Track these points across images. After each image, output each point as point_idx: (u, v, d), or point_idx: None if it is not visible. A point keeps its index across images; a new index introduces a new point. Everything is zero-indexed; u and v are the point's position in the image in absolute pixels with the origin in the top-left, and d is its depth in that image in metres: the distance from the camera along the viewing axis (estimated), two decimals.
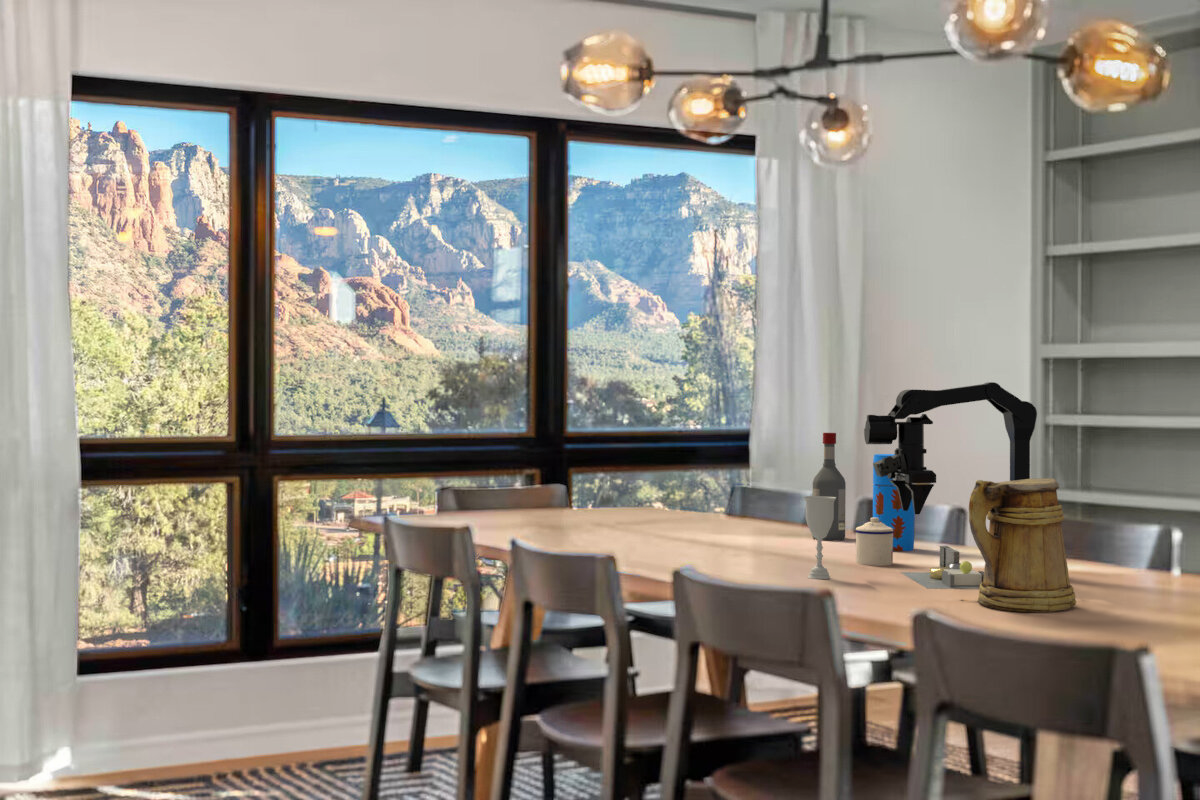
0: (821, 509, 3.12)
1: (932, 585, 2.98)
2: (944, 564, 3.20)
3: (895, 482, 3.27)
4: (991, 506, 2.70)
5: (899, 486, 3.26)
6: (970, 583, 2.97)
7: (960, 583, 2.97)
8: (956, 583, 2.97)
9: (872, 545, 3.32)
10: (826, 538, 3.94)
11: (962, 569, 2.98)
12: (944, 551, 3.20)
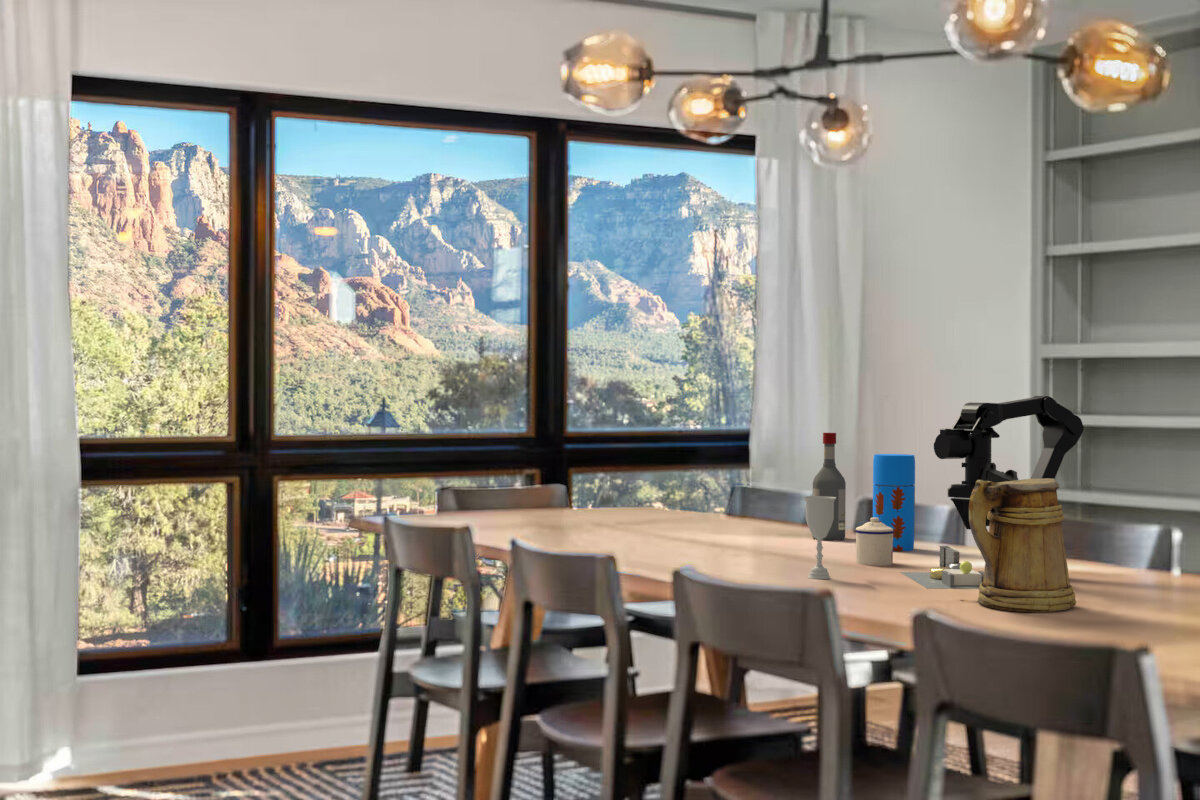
0: (821, 509, 3.12)
1: (932, 585, 2.98)
2: (944, 564, 3.20)
3: None
4: (991, 506, 2.70)
5: None
6: (970, 583, 2.97)
7: (960, 583, 2.97)
8: (956, 583, 2.97)
9: (872, 545, 3.32)
10: (826, 538, 3.94)
11: (962, 569, 2.98)
12: (944, 551, 3.20)
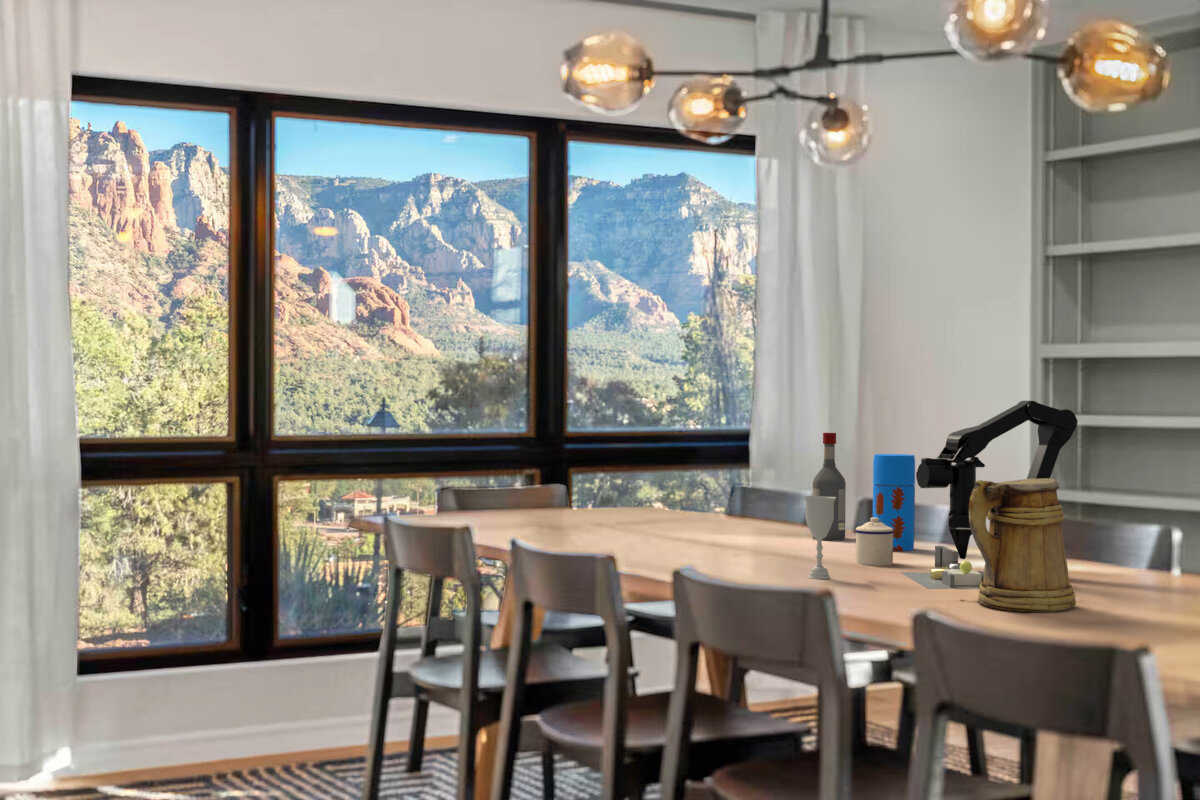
0: (821, 508, 3.12)
1: (932, 585, 2.98)
2: (940, 564, 3.20)
3: None
4: (991, 506, 2.70)
5: None
6: (970, 583, 2.97)
7: (960, 583, 2.97)
8: (956, 583, 2.97)
9: (872, 545, 3.32)
10: (826, 538, 3.94)
11: (962, 569, 2.98)
12: (940, 551, 3.20)
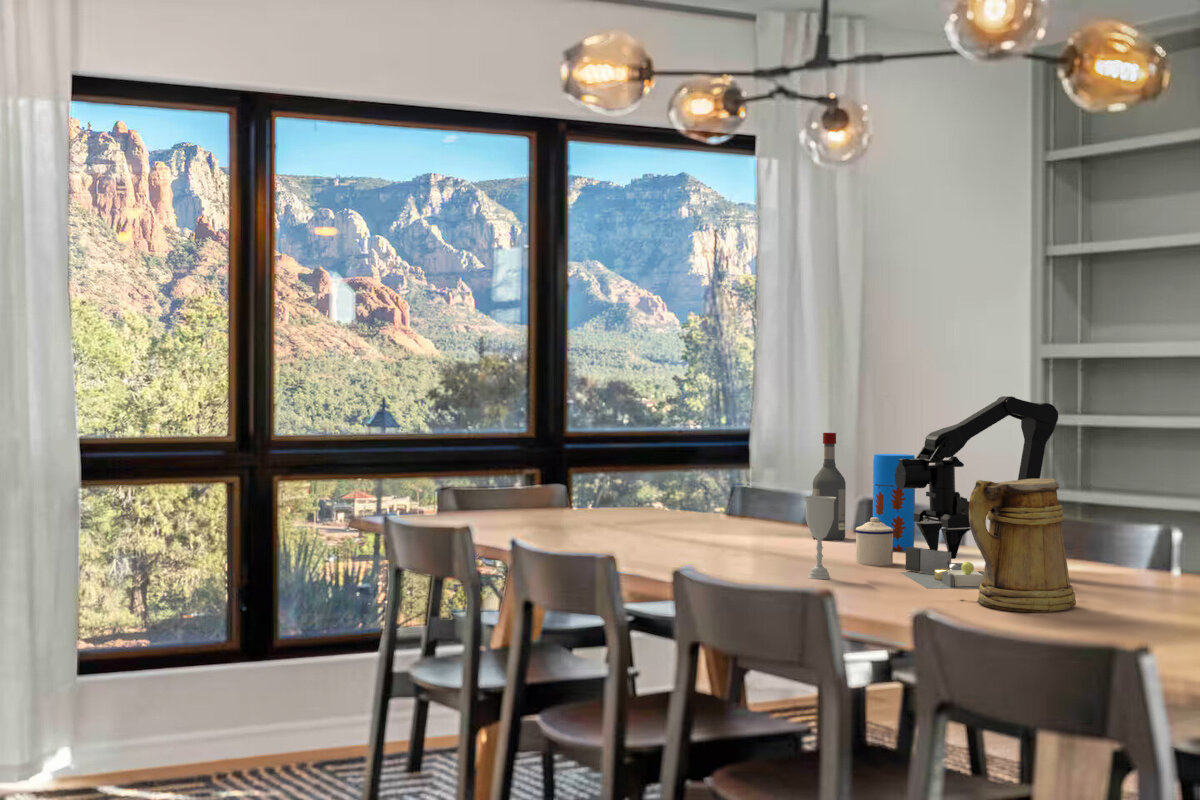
0: (821, 508, 3.12)
1: (932, 585, 2.98)
2: (919, 565, 3.18)
3: None
4: (991, 506, 2.70)
5: None
6: (972, 584, 2.96)
7: (962, 584, 2.96)
8: (958, 584, 2.96)
9: (872, 545, 3.32)
10: (826, 538, 3.94)
11: (964, 570, 2.97)
12: (919, 552, 3.18)
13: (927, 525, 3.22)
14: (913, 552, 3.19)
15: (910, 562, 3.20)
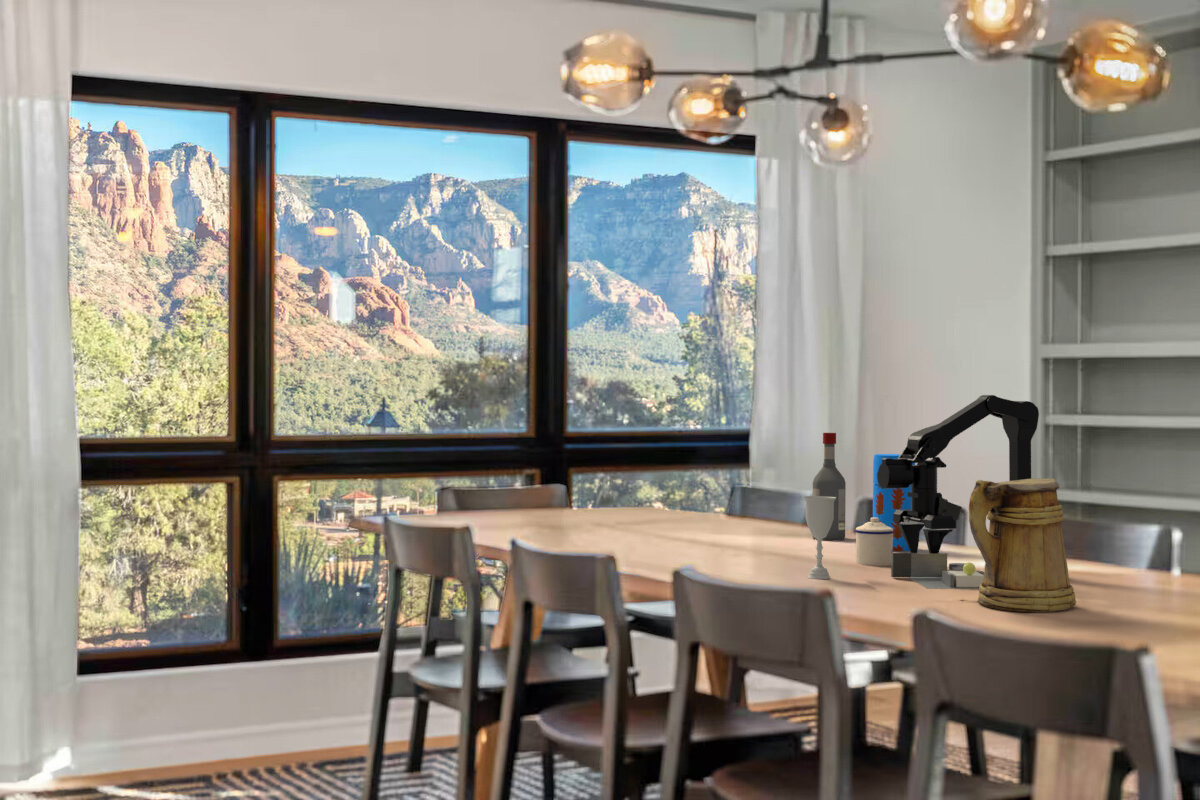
0: (821, 508, 3.12)
1: (932, 585, 2.98)
2: (911, 570, 3.08)
3: None
4: (991, 506, 2.70)
5: None
6: (973, 585, 2.95)
7: (963, 585, 2.95)
8: (959, 585, 2.95)
9: (872, 545, 3.32)
10: (826, 538, 3.94)
11: (965, 571, 2.95)
12: (911, 557, 3.08)
13: (907, 525, 3.19)
14: (903, 558, 3.08)
15: (899, 568, 3.08)
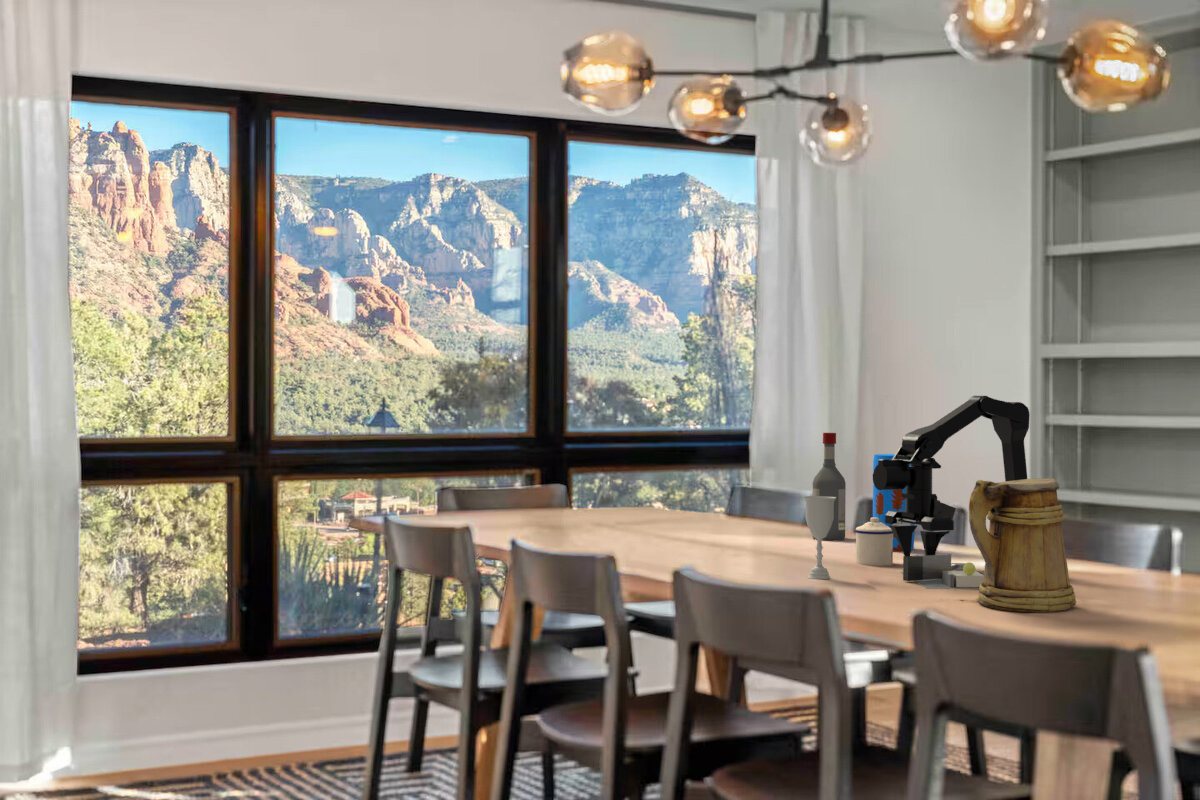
0: (821, 508, 3.12)
1: (932, 585, 2.98)
2: (922, 573, 3.04)
3: None
4: (991, 506, 2.70)
5: None
6: (973, 585, 2.95)
7: (963, 585, 2.95)
8: (959, 585, 2.95)
9: (872, 545, 3.32)
10: (826, 538, 3.94)
11: (965, 571, 2.95)
12: (922, 560, 3.04)
13: (900, 527, 3.16)
14: (916, 561, 3.03)
15: (913, 572, 3.02)
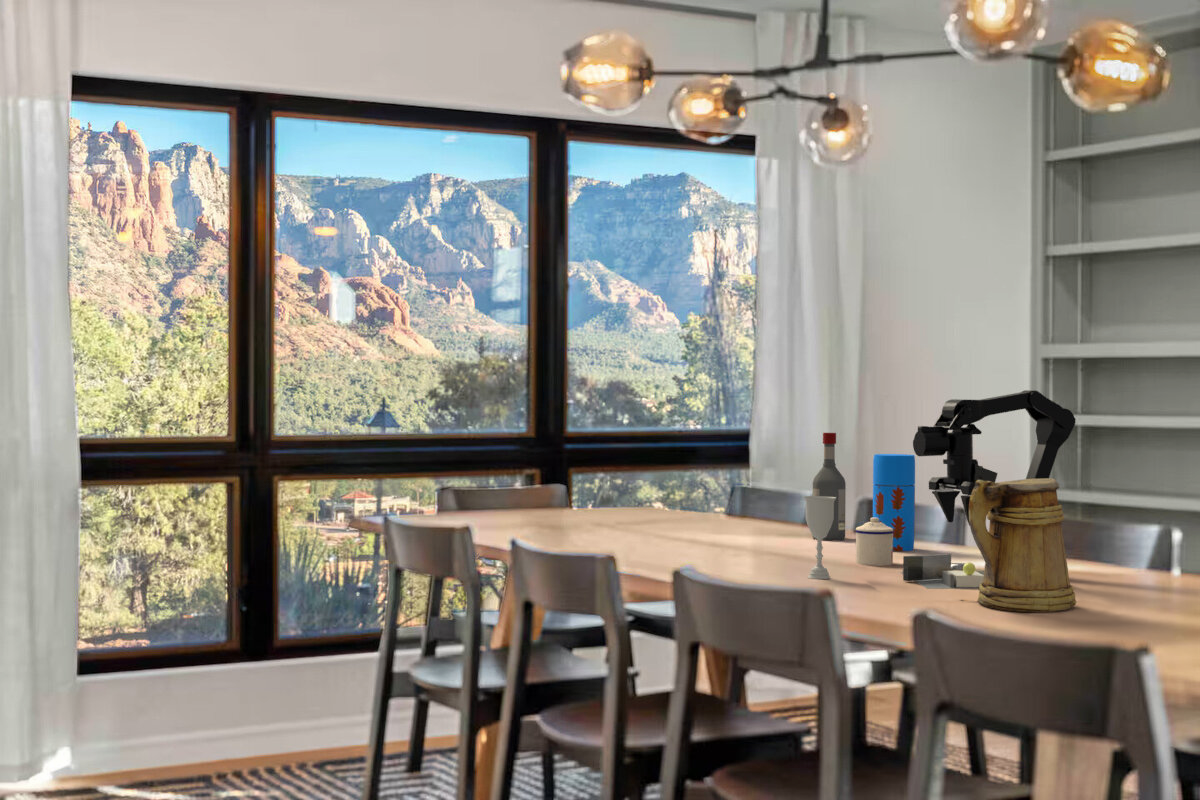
0: (821, 508, 3.12)
1: (932, 585, 2.98)
2: (922, 573, 3.04)
3: None
4: (991, 506, 2.70)
5: None
6: (973, 585, 2.95)
7: (963, 585, 2.95)
8: (959, 585, 2.95)
9: (872, 545, 3.32)
10: (826, 538, 3.94)
11: (965, 571, 2.95)
12: (922, 560, 3.04)
13: (943, 493, 3.22)
14: (916, 561, 3.03)
15: (913, 572, 3.02)
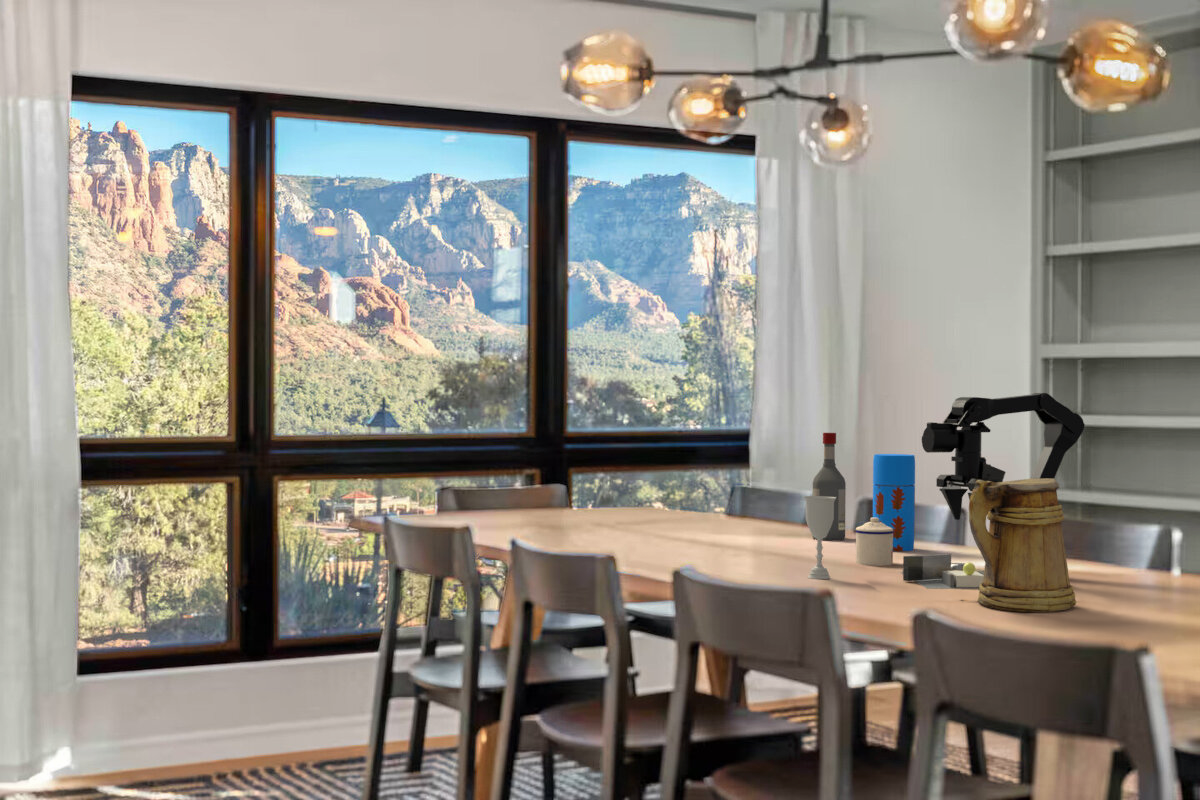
0: (821, 508, 3.12)
1: (932, 585, 2.98)
2: (922, 573, 3.04)
3: None
4: (991, 506, 2.70)
5: None
6: (973, 585, 2.95)
7: (963, 585, 2.95)
8: (959, 585, 2.95)
9: (872, 545, 3.32)
10: (826, 538, 3.94)
11: (965, 571, 2.95)
12: (922, 560, 3.04)
13: (950, 490, 3.23)
14: (916, 561, 3.03)
15: (913, 572, 3.02)
